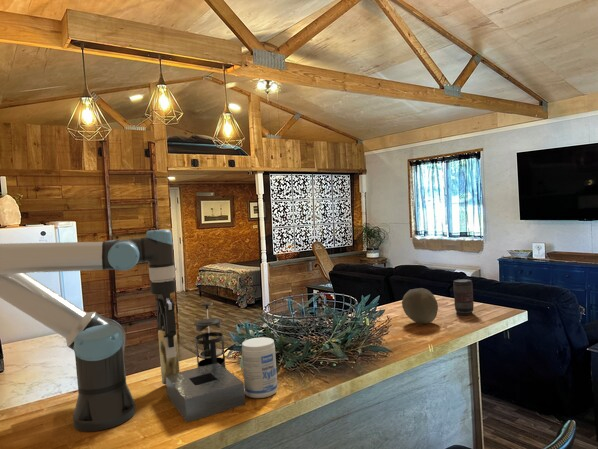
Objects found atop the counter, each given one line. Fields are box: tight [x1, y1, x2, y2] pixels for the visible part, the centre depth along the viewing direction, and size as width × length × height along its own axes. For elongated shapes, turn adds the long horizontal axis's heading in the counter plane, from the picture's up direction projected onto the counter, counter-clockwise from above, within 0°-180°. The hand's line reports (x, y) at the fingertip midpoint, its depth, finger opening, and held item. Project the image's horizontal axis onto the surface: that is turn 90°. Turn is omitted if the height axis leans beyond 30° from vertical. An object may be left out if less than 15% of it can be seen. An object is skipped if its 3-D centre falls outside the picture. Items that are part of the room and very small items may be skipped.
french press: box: [194, 302, 227, 369], centre depth 143 cm, size 12×9×23 cm
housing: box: [165, 363, 246, 423], centre depth 122 cm, size 16×20×6 cm
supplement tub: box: [241, 336, 278, 399], centre depth 124 cm, size 10×10×15 cm
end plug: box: [157, 326, 181, 385], centre depth 134 cm, size 5×5×17 cm
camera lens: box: [452, 278, 475, 317], centre depth 193 cm, size 8×8×15 cm
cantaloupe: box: [401, 287, 439, 325], centre depth 182 cm, size 14×14×15 cm
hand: (168, 354), depth 134 cm, fingers closed on end plug, 5 cm apart
